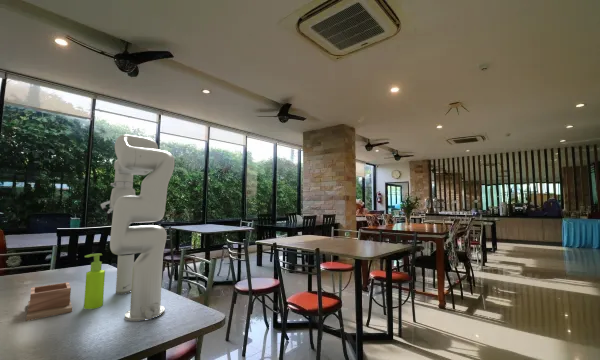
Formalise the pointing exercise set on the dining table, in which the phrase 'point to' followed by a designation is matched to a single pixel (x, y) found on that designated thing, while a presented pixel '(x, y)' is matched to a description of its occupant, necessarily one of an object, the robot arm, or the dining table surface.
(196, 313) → the dining table surface
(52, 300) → the socket caddy
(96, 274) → the soap dispenser
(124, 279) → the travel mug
